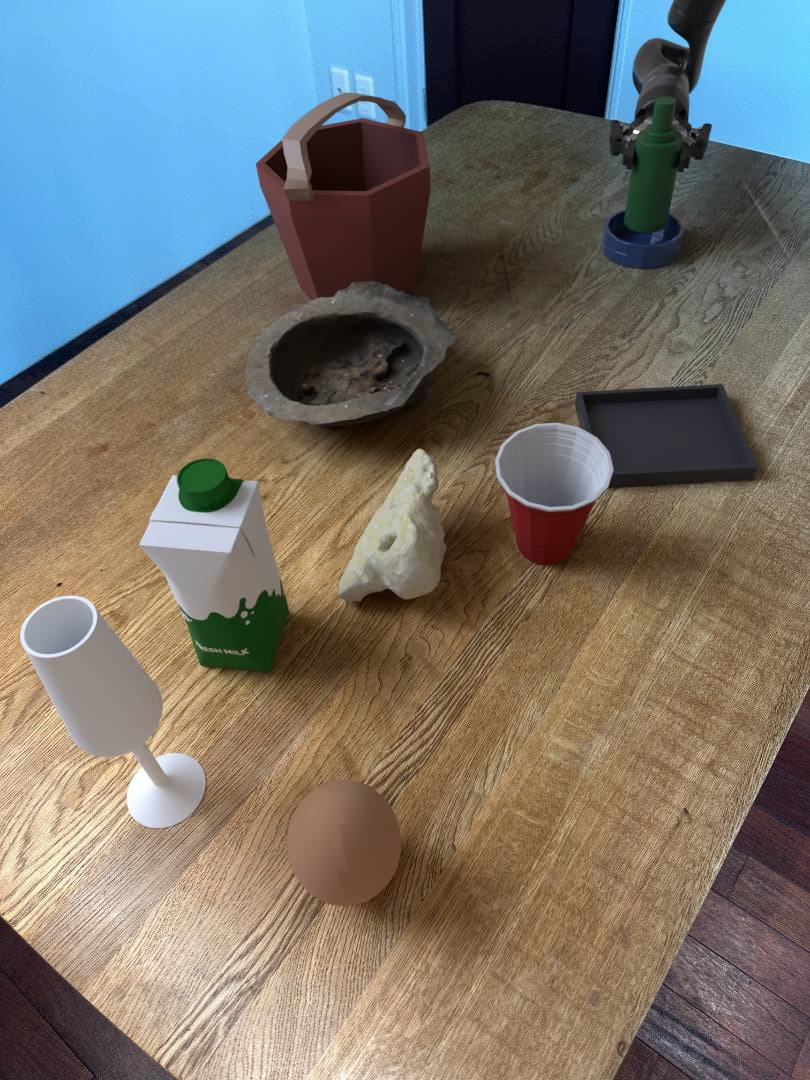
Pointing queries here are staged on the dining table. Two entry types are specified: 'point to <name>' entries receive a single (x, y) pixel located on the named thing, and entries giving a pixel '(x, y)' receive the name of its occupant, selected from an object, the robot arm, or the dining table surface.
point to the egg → (344, 842)
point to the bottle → (654, 170)
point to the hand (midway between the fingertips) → (655, 163)
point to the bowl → (641, 243)
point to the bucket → (349, 197)
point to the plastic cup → (551, 486)
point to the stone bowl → (348, 356)
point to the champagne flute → (110, 705)
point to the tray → (668, 435)
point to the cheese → (400, 539)
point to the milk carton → (220, 566)
